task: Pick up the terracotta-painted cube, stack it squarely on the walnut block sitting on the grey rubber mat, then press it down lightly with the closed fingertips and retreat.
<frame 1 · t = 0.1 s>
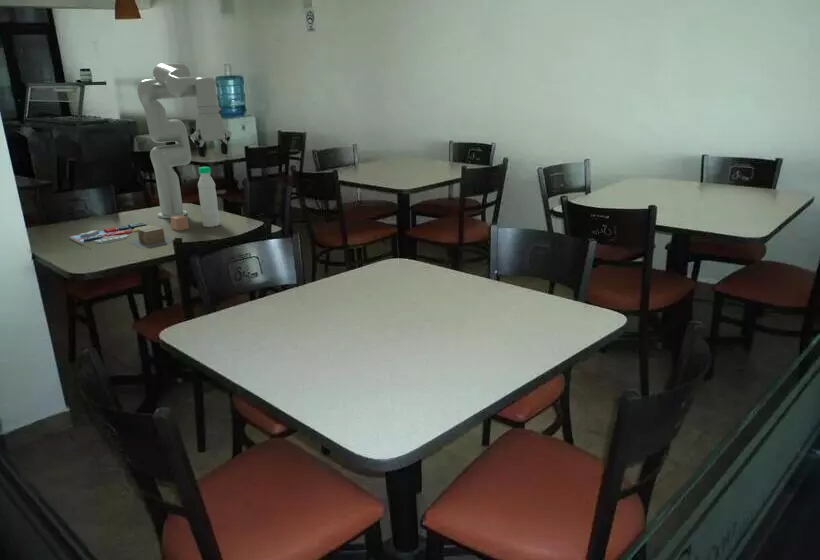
hand: (213, 155, 244), 31 cm above the table, tool pointing down, fingers open, 9 cm apart
base block: (152, 241, 238), point 1 cm above the table, touching mat
puzzle board: (119, 238, 250), on the table
top block: (180, 230, 257), on the table
mat: (152, 243, 238), on the table
water bottle: (211, 226, 265), on the table
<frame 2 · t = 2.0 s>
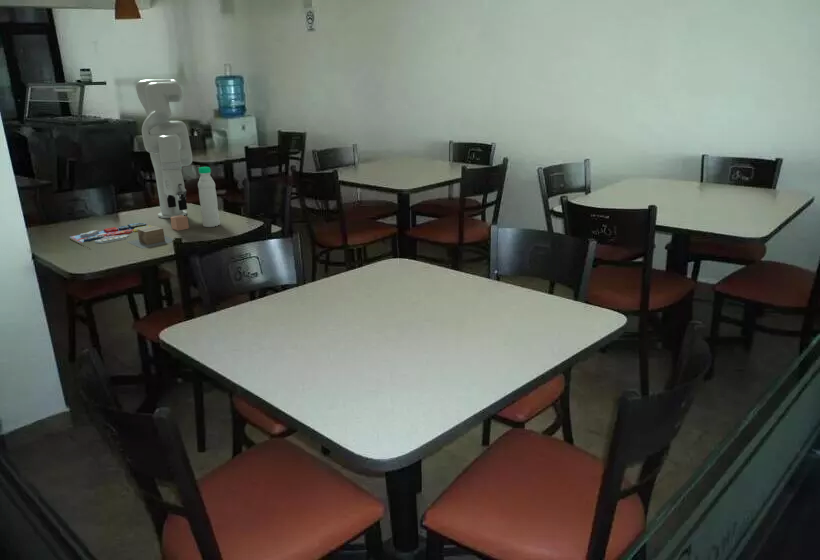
hand: (177, 208, 253), 10 cm above the table, tool pointing down, fingers open, 9 cm apart
nothing on the table moved.
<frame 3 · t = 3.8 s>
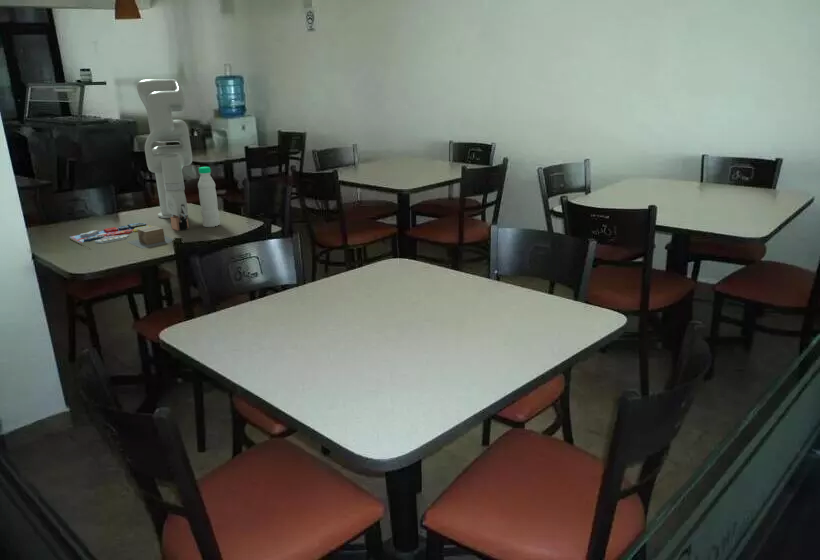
hand: (180, 229, 257), 0 cm above the table, tool pointing down, fingers closed on top block, 5 cm apart
top block: (180, 230, 257), on the table, touching gripper
everything else where it was.
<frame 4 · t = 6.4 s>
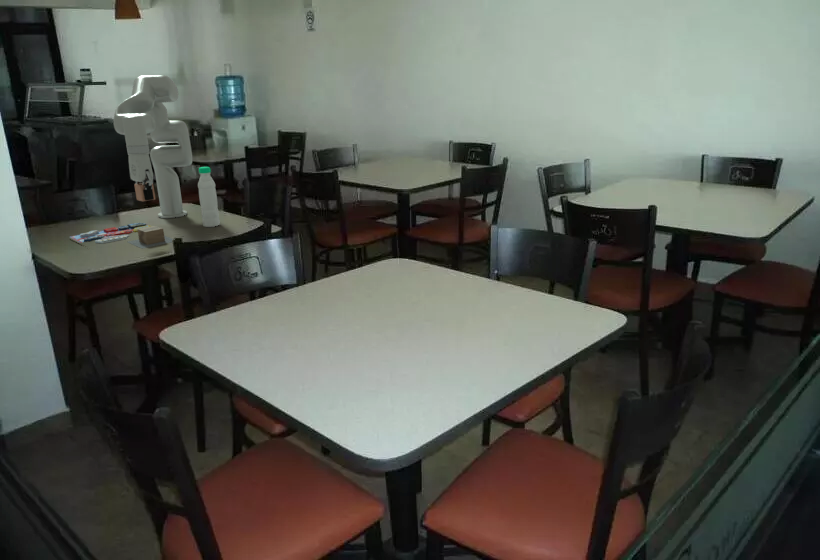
hand: (145, 198, 233), 18 cm above the table, tool pointing down, fingers closed on top block, 4 cm apart
top block: (146, 199, 233), point 17 cm above the table, touching gripper
everything else where it was.
when the fingers open (8 cm above the table, at t = 9.0 s): top block drops 1 cm, resting on base block.
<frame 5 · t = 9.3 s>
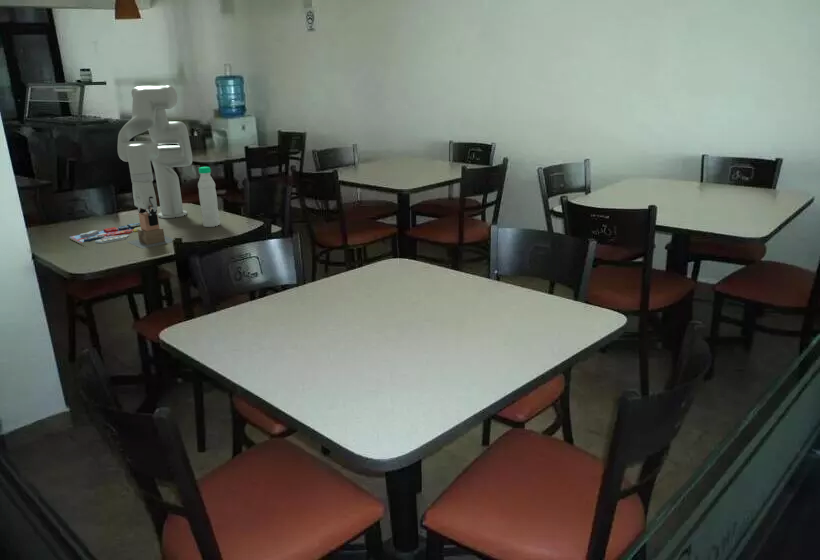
hand: (149, 223, 236), 8 cm above the table, tool pointing down, fingers open, 7 cm apart
base block: (152, 241, 238), point 1 cm above the table, touching mat, top block
top block: (150, 228, 236), point 6 cm above the table, touching base block
everything else where it was.
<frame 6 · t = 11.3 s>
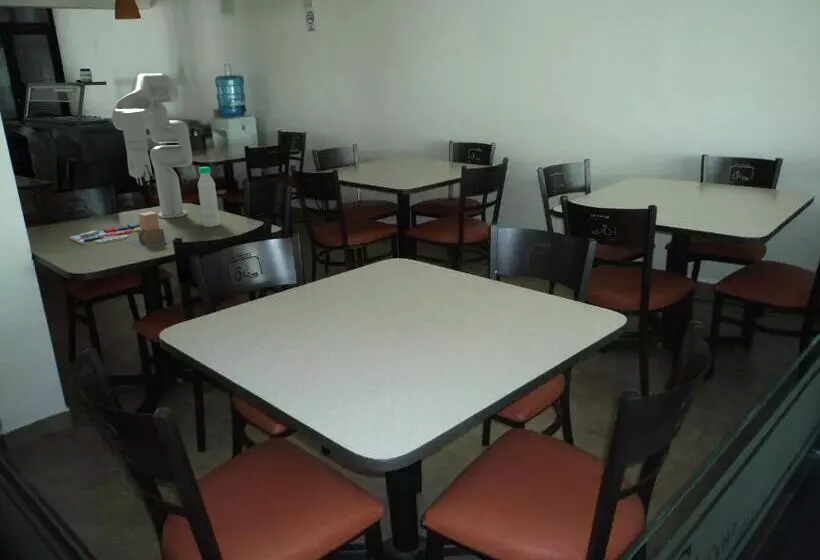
hand: (144, 195, 232), 19 cm above the table, tool pointing down, fingers closed
nothing on the table moved.
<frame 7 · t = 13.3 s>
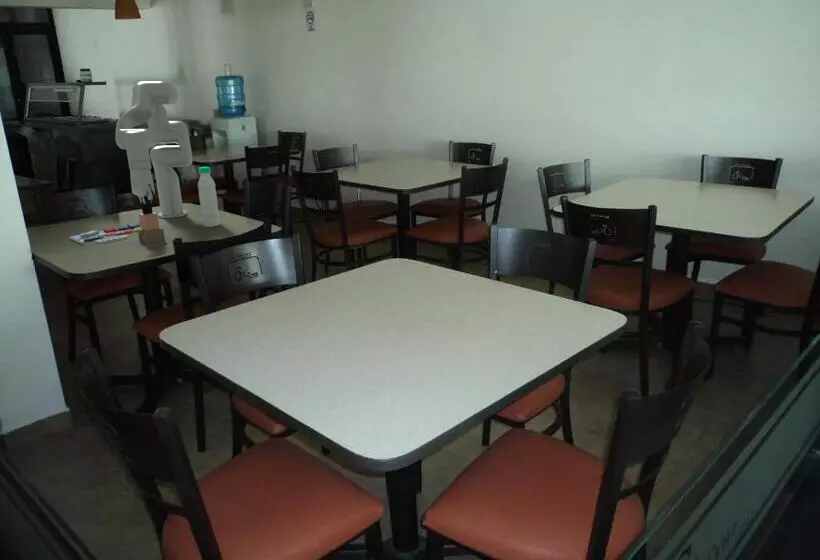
hand: (147, 213, 234), 12 cm above the table, tool pointing down, fingers closed
top block: (150, 228, 236), point 6 cm above the table, touching base block, gripper
everything else where it was.
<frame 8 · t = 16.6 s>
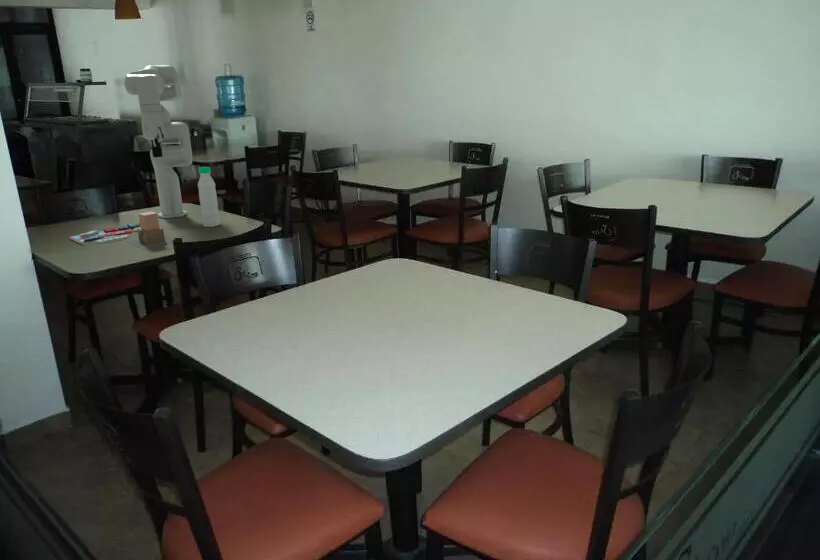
hand: (157, 156, 243), 31 cm above the table, tool pointing down, fingers closed
top block: (150, 228, 236), point 6 cm above the table, touching base block
everything else where it was.
at the end: top block 0.0 cm off-centre on the base block, point 5.0 cm above the base block's base; top block tilted 0°; the gripper is holding nothing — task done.
